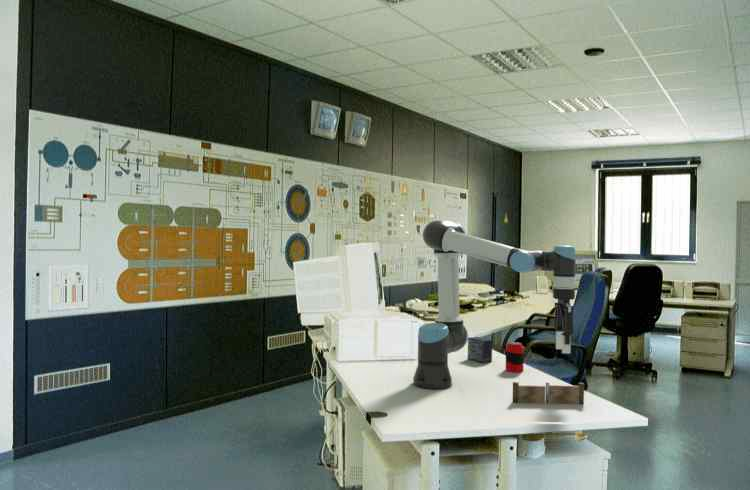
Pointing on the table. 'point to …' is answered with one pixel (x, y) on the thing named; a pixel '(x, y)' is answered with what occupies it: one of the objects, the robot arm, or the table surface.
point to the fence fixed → (528, 393)
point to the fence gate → (565, 394)
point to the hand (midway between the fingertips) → (562, 351)
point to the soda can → (514, 357)
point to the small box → (479, 349)
